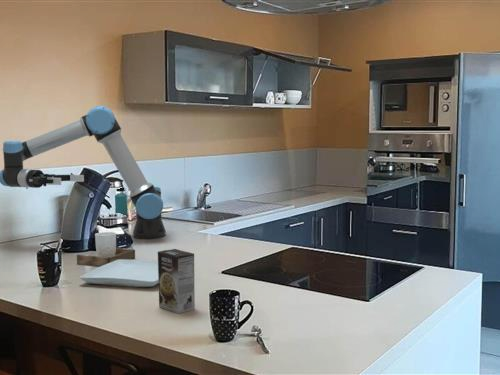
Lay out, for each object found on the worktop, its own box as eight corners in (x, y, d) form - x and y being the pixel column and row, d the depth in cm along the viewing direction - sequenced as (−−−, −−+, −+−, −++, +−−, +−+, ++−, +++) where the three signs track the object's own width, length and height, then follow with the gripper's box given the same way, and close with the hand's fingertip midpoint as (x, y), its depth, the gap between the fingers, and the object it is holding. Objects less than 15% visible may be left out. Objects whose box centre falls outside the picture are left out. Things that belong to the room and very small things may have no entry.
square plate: (187, 271, 212) (187, 261, 211) (155, 292, 186) (154, 280, 185) (118, 267, 219) (118, 257, 219) (78, 287, 193) (77, 275, 192)
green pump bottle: (126, 226, 308) (125, 187, 306) (114, 226, 308) (112, 187, 306) (129, 224, 314) (128, 186, 312) (117, 224, 315) (115, 186, 312)
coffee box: (158, 307, 169) (156, 251, 168) (176, 302, 174) (174, 248, 172) (177, 314, 163) (176, 256, 161) (196, 309, 167) (194, 252, 166)
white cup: (119, 257, 231) (118, 232, 230) (113, 262, 223) (112, 235, 222) (100, 257, 232) (99, 231, 231) (92, 261, 224) (91, 235, 223)
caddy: (77, 264, 223) (76, 255, 223) (103, 255, 238) (103, 246, 238) (109, 267, 217) (109, 258, 217) (135, 258, 232) (134, 249, 232)
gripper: (53, 184, 261) (92, 186, 252) (9, 190, 238) (50, 192, 229) (52, 167, 260) (91, 168, 251) (8, 171, 237) (49, 173, 229)
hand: (72, 179), depth 240 cm, fingers open, 13 cm apart
